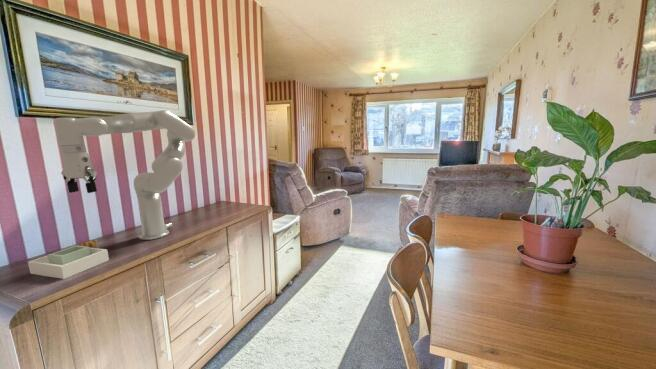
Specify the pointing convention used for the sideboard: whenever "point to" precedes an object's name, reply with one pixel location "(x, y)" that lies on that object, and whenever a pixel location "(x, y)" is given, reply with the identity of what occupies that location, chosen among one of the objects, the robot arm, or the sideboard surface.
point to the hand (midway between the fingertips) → (83, 192)
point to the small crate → (68, 255)
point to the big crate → (67, 270)
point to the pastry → (90, 244)
